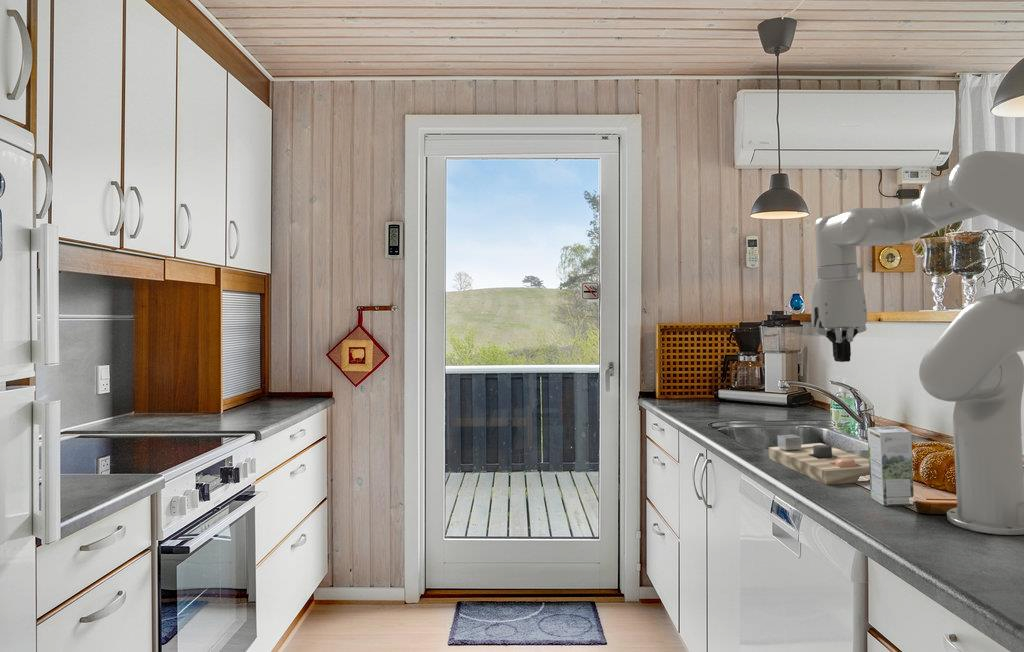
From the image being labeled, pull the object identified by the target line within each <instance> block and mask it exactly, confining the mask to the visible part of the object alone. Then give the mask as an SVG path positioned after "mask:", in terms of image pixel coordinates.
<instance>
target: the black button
mask: <svg viewBox="0 0 1024 652" xmlns="http://www.w3.org/2000/svg"><path fill="white" fill-rule="evenodd" d="M832 447H833V446H831V445H828V444H825V445H815V446H813V455H814V457H815V458H817V459H824V458H832Z"/></svg>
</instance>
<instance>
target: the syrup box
mask: <svg viewBox="0 0 1024 652" xmlns="http://www.w3.org/2000/svg"><path fill="white" fill-rule="evenodd" d="M912 439H913V438H912V432H911V431H909V430H908V429H906V428H904V427H902V426H897V425H894V426H893V425H891V426H874V427H873V426H872V427H867V445H868V446H867V448H868V449H867V450H868V452H867V453H868V460H869V473H870V481H869V488H870V489H869V490H870V491H869V495H870V498H871V499H872V500H874V501H875V502H877V503H878V504H880V505H882V506H884V507H886V506H887V507H888V506H889V507H890V506H891V507H892V506H893V507H894V506H895V507H896V506H898V507H899V506H911V505H910V503H909V502H910V501H909V498H910V497H913V496H914V497H915V495H914V492H915V491H914V473H913V470H914V469H913V442H912Z"/></svg>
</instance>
